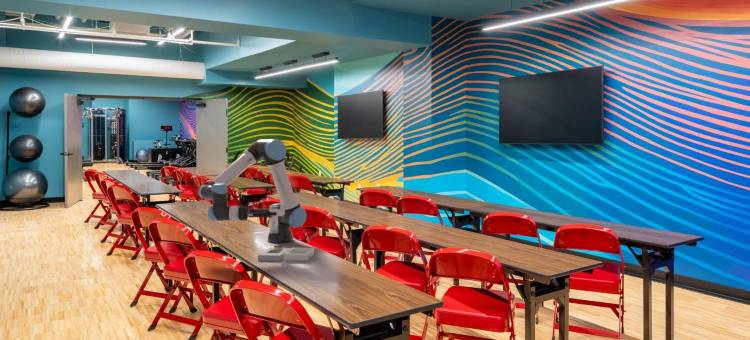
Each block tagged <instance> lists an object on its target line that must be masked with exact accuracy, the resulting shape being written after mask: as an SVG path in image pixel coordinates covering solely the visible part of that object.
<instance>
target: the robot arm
mask: <svg viewBox="0 0 750 340" xmlns="http://www.w3.org/2000/svg"><path fill="white" fill-rule="evenodd" d="M286 154H287V147H286V145H285V143H284V142H283V141H282V140H279V139H276V138H268V139H266V138H261V139H257V141H254V142H253V143H251V144H250V145H249V146H248V147H247V148H245V150H243V153H242V154H241V155H240V156H239V157H238V158H237V159H236V160H235V161H233V162H232V163H231V164H230V165H229V166H227V167H226V168H225V169H224V170H223V171H222V172H220V173H219V174H218V175H217V176H216V177H214V178H213V179H212V180H211V181H210V182H208V183H207V184H203V185H200V187H199V188H198V192H197V193H198V196H199V197H200V198H201V199H204V200H205V201H206V200H208V201H209V200H210V201H212V205H211V206H210V207H208V210H207V211H208V212H207V215H208V219H209V220H210V221H217V222H219V221H220V222H221V221H222V222H224V221H225V222H226V221H232V222H235V221H247V220H248V219H250V218H268V219H269V218H270V216H278V233H270V231H269V232H268V236H267V241H268V243H273V244H284V243H290V242H293V241H294V236H293V233H292V229H291V228H300V227H302V226H303V225H304V224H305V222H306V220H307V216H308V215H307V211H306V210H305V209H304V208H303V207H301V205H300V201H298V200H297V199H296V196H295V193H294V190H293V188H292V184H291V180H290V177H289V175H288V172H287V168H286V165H285V161H286ZM261 160H263V162H264V165H265V166H266V167H268V168H269V170H270V173H271V176H272V179H273V182H274V186H275V188H276V193H277V196H278V197H279V201H280V203H273V204H271V205H270V206H278V211H269V208H250V209H248V206H247V205H240V206H239V205H231V206H229V205H228V202H229V199H228V198H229V197H228V185H230V184H231V183H232V182H233V181H235V180H236V179H237V177H238V176H240V175H241V174H242V173H243V172H245V170H247V169H248V168H249V167H250V166H251V165H255V164H256V163H258V162H259V161H261Z"/></svg>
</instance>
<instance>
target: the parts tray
mask: <svg viewBox="0 0 750 340" xmlns="http://www.w3.org/2000/svg"><path fill="white" fill-rule="evenodd" d="M314 257H315V248H314V247H291V248H290V250H288V251H287V252H286V253H284V259H283V262H284V263H285V262H286V263H308V262H309V261H310V260H311V259H312V258H314Z"/></svg>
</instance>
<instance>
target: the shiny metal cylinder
mask: <svg viewBox="0 0 750 340" xmlns="http://www.w3.org/2000/svg"><path fill="white" fill-rule="evenodd" d="M268 209H269V211H278V206H271V205H269V206H268ZM268 219H269V232H270V233H278V216H270V218H268Z"/></svg>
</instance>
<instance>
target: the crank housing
mask: <svg viewBox="0 0 750 340" xmlns="http://www.w3.org/2000/svg"><path fill="white" fill-rule="evenodd" d="M290 249H291V248H290V247H289V248H288V247H283V245H273V247H268V248H267V249H264V251H262V252H260V253H258V254H257V261H261V262H282V261H284V253H286V252H287V251H288V250H290Z"/></svg>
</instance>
